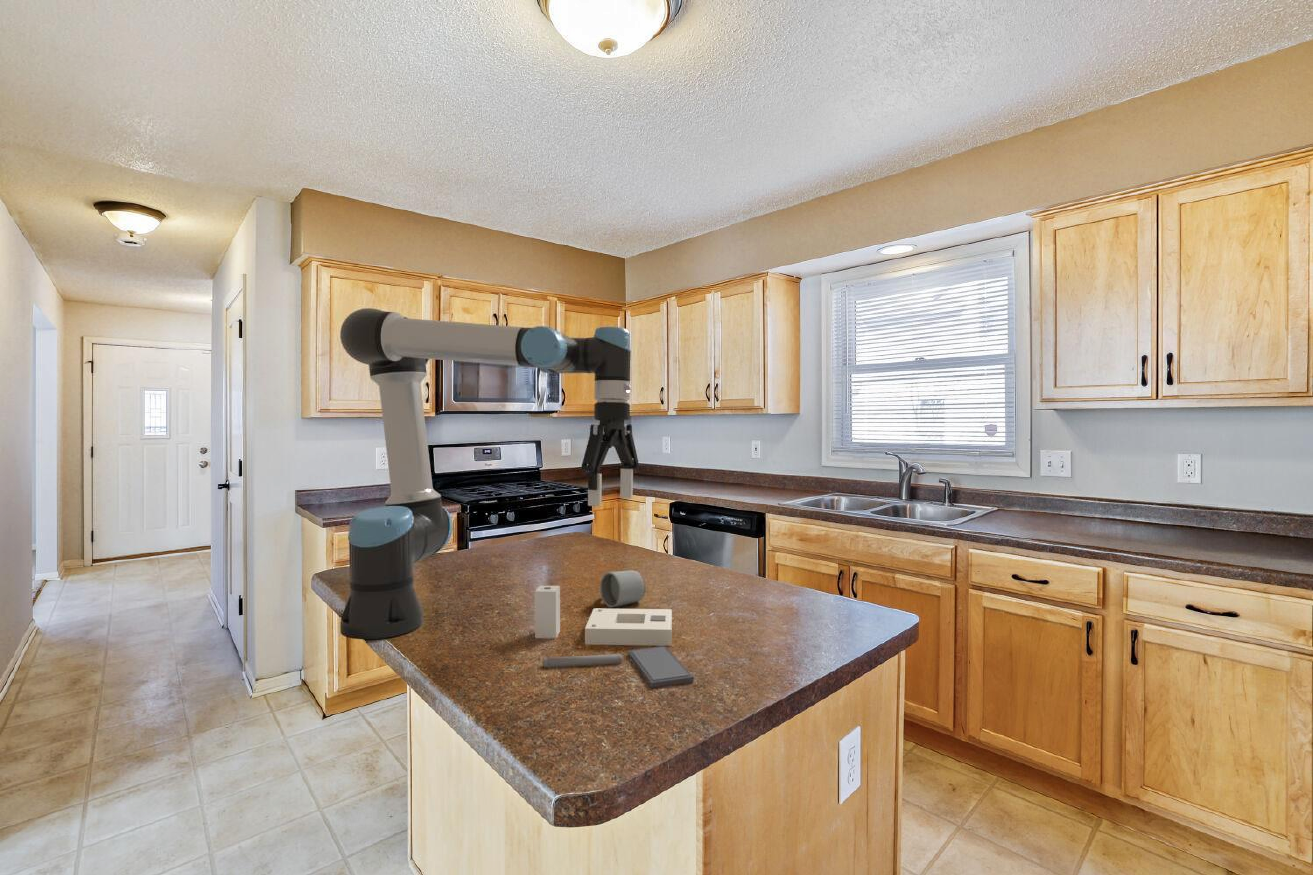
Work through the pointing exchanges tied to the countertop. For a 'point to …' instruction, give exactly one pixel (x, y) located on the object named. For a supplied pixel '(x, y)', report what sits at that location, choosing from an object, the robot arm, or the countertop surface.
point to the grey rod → (582, 660)
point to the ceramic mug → (622, 588)
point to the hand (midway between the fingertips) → (611, 502)
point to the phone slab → (660, 666)
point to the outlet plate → (629, 627)
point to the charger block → (547, 612)
